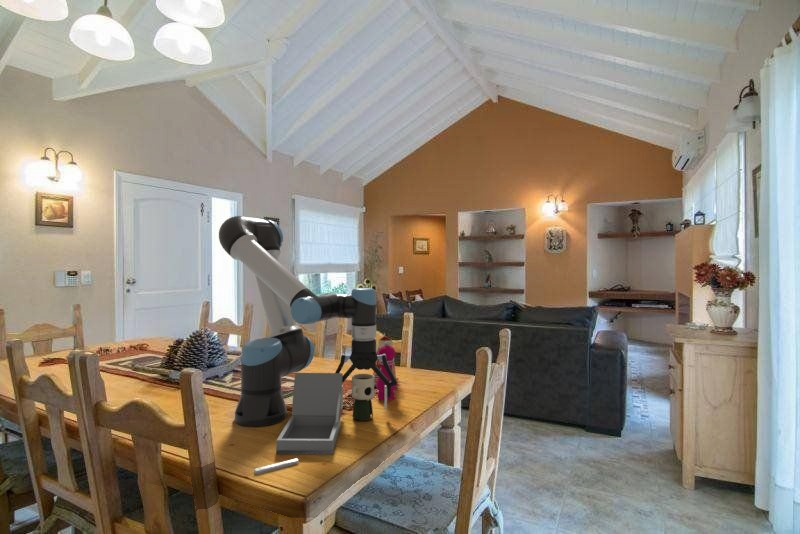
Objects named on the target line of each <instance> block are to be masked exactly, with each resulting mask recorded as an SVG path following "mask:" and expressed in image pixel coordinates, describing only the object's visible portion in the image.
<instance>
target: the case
mask: <svg viewBox="0 0 800 534" xmlns="http://www.w3.org/2000/svg"><path fill="white" fill-rule="evenodd" d="M343 375H344V374H343V373H342V372H340V373H335V372H295V373H294V381H293V394H292V405H291V406H292V407H291V416H290V417H289V419H288V420H287V423H286V424H285V425H284V427H283V429H282V431H281V432H280V434H279V436H278V437H277V439H276V443H275V445H276V447H275V450H276V451H275V452H276V453H275V454H276V455H333V453H334V450H335V448H334V447H336V443H337V441H338V440H337V439H338V436H339V435H340V430H341V416H342V414H341V413H342V409H341V398H342V385H343V383H342V377H343Z"/></svg>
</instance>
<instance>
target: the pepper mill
mask: <svg viewBox="0 0 800 534" xmlns="http://www.w3.org/2000/svg"><path fill="white" fill-rule="evenodd" d="M389 344H390V343H389V342H388V341H386V342H385V346H382V347H381V348H380V349H379V352H378V355H383V354H386V359H387V362H388V364H389V366H390V368H391V370H392V366H393V364H394V363H395V356H396V349H395V348H394V347H392V346H393V345H392V346H389ZM393 358H394V359H393ZM380 364H381V371H382V373H383V374H384V375H385V376H386V377H387V379H388V380H389V381H391V379H390V377H389V375H388V373H387V371H386V369H385V367H384V365H383V362H380ZM392 372H393V371H392ZM397 384H398V383H397ZM397 384H396V385H393V386H392V387H391V397H387V401H393V400H395V399H396V392H395V390H396V389H397ZM375 387H376V390H378V391H377V393H376V394H377V395H376V397H377V399H378V400H381V401H385V383H384V382H383V381H382V380H381V379H380V377H378V380H377V383H376V385H375Z"/></svg>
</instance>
